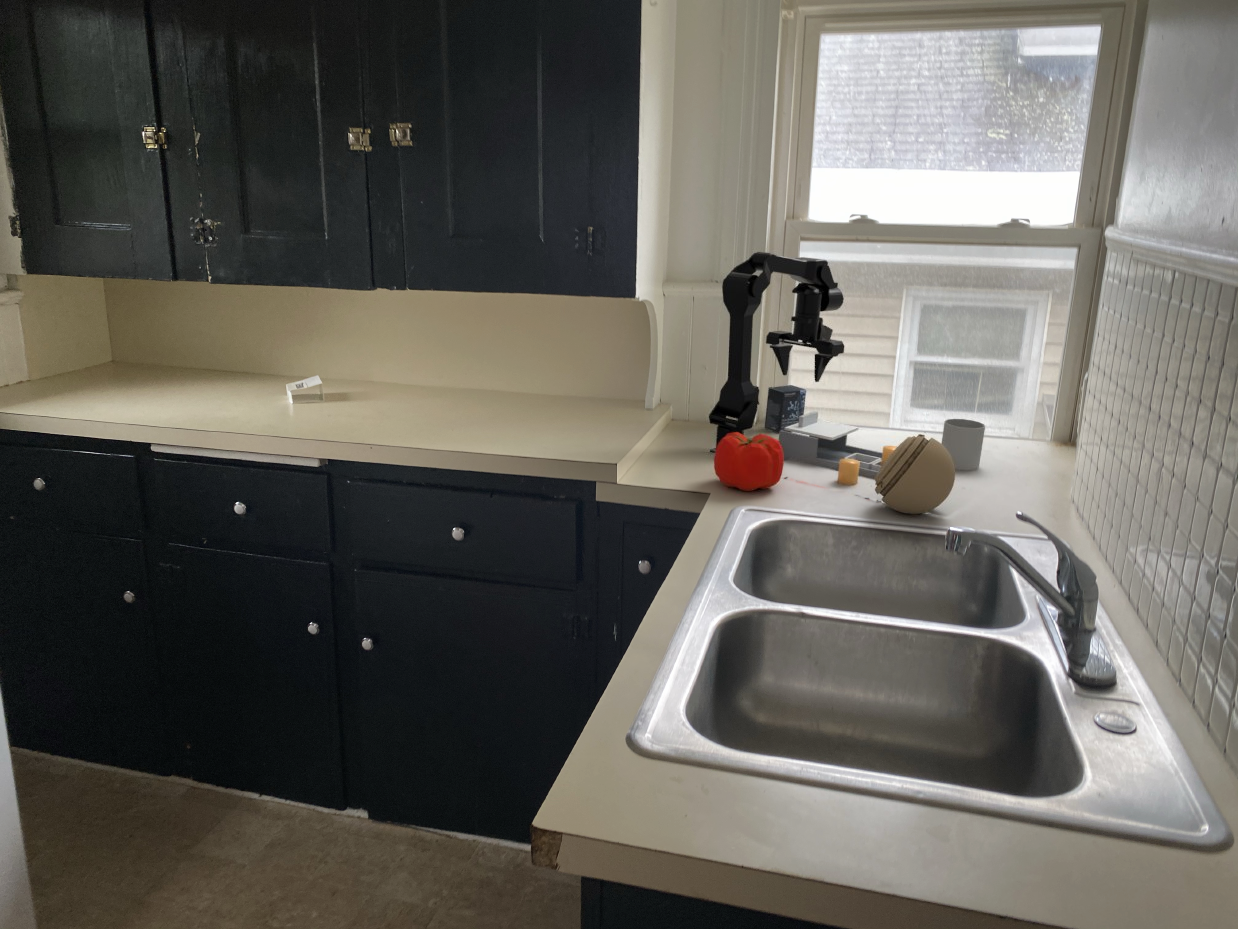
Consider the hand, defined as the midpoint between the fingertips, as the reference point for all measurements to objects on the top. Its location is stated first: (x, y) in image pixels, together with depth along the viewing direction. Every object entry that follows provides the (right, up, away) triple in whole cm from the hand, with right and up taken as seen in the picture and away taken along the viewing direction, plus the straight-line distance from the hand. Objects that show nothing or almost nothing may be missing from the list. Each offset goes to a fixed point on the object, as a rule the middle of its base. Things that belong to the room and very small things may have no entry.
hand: (800, 378), depth 228 cm
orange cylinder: (+15, -22, -24) cm, 35 cm away
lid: (+2, -13, -15) cm, 20 cm away
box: (-3, -12, +9) cm, 15 cm away
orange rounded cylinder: (+3, -25, -32) cm, 41 cm away
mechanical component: (+11, -30, -47) cm, 57 cm away
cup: (+32, -21, -17) cm, 42 cm away
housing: (+7, -20, -18) cm, 28 cm away
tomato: (-18, -25, -36) cm, 47 cm away
